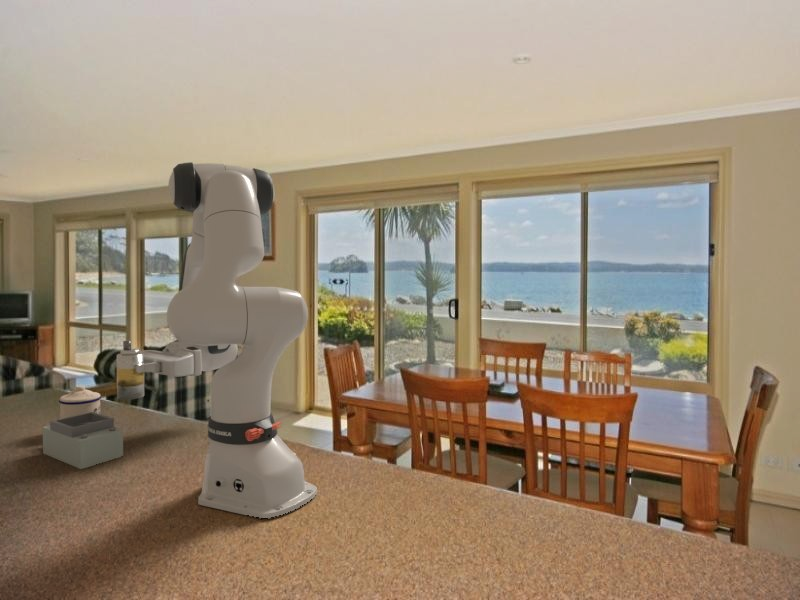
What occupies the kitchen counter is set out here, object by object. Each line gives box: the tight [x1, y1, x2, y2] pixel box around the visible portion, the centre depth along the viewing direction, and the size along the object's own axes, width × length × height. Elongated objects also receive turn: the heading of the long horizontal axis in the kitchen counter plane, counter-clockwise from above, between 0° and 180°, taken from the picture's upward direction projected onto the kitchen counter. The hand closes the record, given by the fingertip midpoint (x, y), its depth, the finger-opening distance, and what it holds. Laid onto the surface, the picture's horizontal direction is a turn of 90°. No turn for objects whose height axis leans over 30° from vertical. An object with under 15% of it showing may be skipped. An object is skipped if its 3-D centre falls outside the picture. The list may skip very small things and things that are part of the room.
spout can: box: [116, 340, 145, 401], centre depth 123 cm, size 6×6×13 cm
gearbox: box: [42, 412, 124, 470], centre depth 118 cm, size 20×9×8 cm, turn 58°
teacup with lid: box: [58, 385, 102, 419], centre depth 134 cm, size 12×9×12 cm
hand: (126, 367), depth 122 cm, fingers closed on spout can, 6 cm apart
